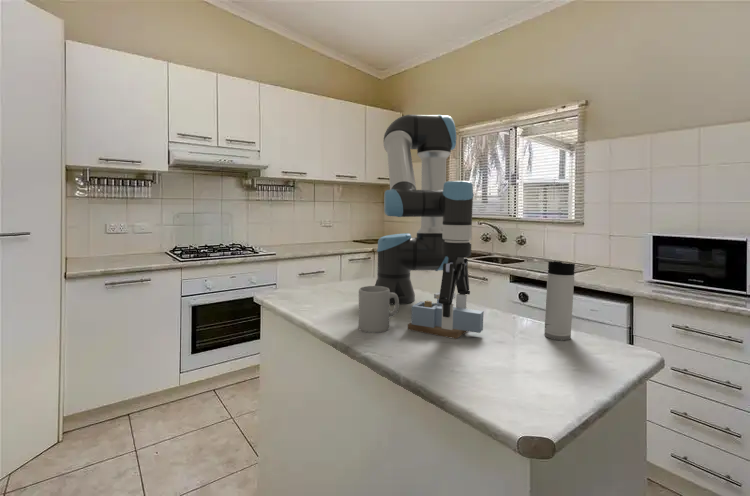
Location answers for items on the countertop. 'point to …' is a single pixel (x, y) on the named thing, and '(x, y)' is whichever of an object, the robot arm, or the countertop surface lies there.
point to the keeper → (439, 295)
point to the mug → (375, 308)
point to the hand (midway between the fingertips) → (454, 323)
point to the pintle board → (436, 328)
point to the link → (461, 317)
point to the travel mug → (559, 300)
